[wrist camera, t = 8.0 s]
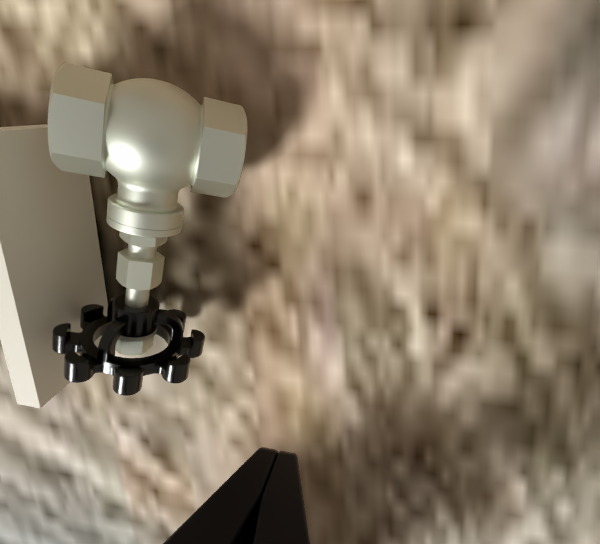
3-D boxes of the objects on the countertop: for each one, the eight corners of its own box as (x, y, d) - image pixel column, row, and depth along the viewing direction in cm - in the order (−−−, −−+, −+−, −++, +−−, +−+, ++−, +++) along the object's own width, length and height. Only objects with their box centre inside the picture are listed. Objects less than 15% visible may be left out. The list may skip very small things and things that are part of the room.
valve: (234, 97, 20) (197, 319, 24) (77, 58, 17) (67, 311, 22) (263, 107, 14) (208, 396, 18) (34, 50, 12) (32, 396, 16)
